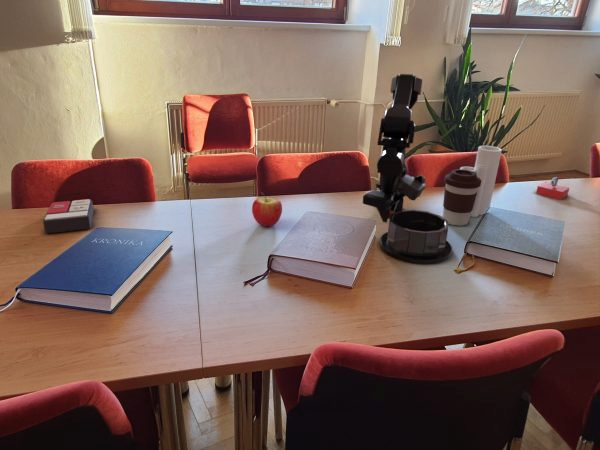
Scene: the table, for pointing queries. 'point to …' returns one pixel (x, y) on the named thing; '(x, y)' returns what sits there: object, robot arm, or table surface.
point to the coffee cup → (460, 196)
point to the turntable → (414, 259)
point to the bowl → (417, 232)
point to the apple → (266, 211)
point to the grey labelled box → (68, 216)
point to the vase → (485, 177)
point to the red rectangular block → (552, 189)
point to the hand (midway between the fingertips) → (387, 220)
